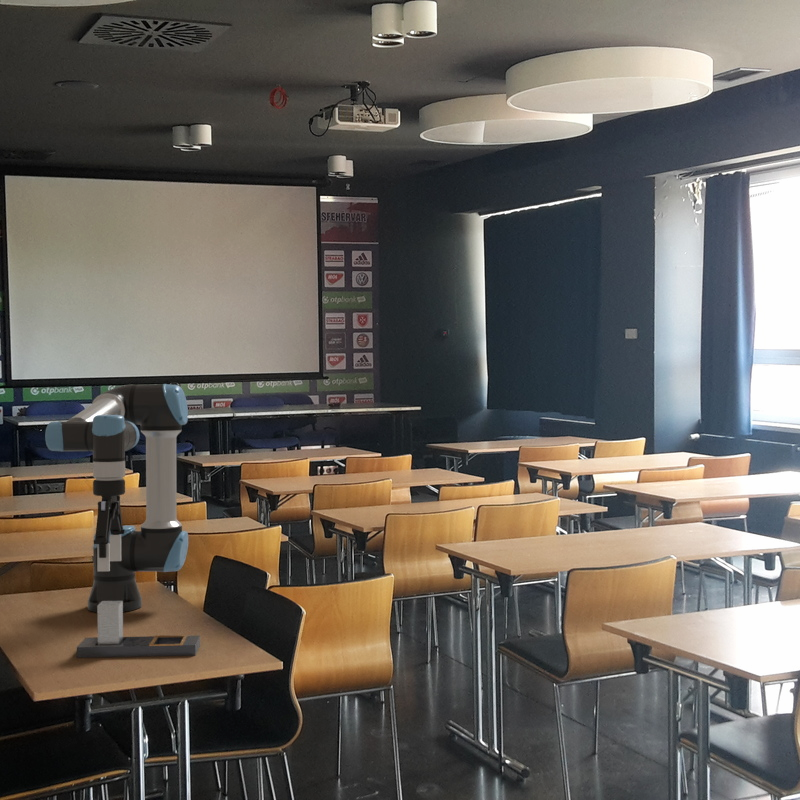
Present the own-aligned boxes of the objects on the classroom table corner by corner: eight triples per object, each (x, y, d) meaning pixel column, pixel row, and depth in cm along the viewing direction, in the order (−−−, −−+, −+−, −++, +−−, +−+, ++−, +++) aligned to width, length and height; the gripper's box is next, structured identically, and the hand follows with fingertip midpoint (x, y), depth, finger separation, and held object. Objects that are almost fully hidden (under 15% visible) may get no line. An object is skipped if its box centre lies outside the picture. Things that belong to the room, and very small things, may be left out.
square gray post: (102, 649, 254) (102, 601, 253) (123, 649, 254) (122, 600, 254) (97, 655, 249) (97, 605, 248) (119, 654, 249) (118, 605, 249)
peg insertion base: (85, 647, 255) (85, 636, 255) (200, 645, 257) (200, 634, 257) (76, 657, 246) (76, 646, 246) (195, 655, 248) (195, 644, 248)
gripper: (104, 473, 262) (105, 557, 263) (81, 484, 237) (81, 575, 238) (134, 473, 263) (135, 556, 263) (114, 483, 238) (114, 575, 238)
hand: (109, 566), depth 251 cm, fingers open, 13 cm apart
